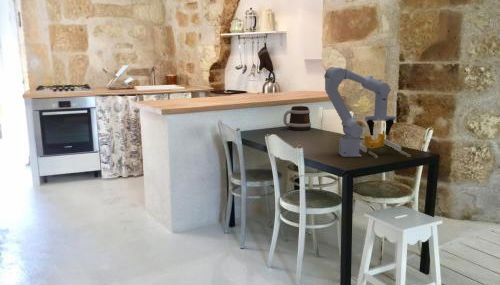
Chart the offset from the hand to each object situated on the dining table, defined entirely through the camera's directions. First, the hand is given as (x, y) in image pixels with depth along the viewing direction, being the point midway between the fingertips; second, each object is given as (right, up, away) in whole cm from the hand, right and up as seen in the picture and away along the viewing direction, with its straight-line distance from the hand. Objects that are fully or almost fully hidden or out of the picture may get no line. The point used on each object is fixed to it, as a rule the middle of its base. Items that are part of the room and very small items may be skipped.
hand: (379, 135), depth 212 cm
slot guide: (+4, -10, -2) cm, 11 cm away
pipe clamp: (+4, -6, +19) cm, 21 cm away
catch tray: (+3, -7, +16) cm, 17 cm away
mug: (-33, +5, +75) cm, 82 cm away
